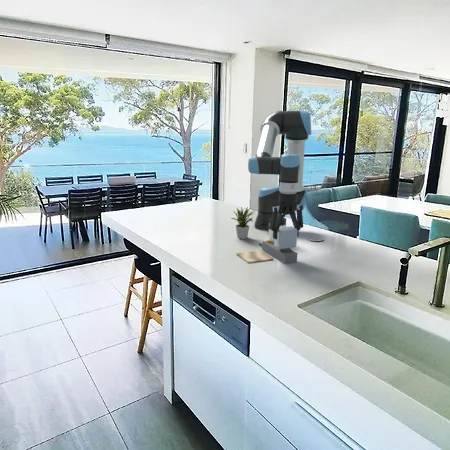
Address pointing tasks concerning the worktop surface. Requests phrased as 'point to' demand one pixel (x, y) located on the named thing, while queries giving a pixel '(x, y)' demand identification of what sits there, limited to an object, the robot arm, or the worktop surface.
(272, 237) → the jar
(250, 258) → the tan flat square block
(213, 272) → the worktop surface
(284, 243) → the block
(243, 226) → the house plant
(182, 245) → the worktop surface
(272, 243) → the power strip
